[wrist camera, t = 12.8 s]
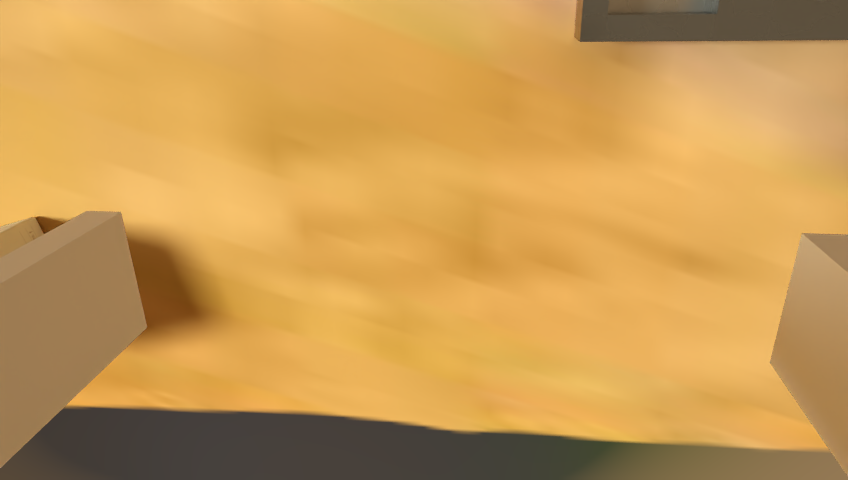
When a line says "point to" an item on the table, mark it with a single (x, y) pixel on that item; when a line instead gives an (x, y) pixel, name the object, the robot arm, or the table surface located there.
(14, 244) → the supplement box
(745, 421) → the table surface
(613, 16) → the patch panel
